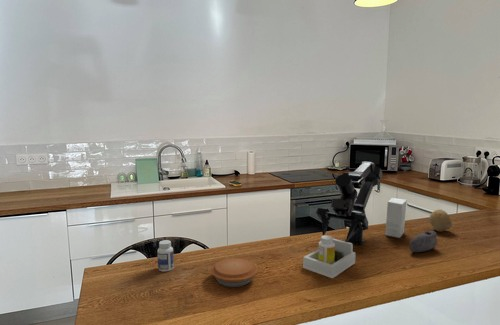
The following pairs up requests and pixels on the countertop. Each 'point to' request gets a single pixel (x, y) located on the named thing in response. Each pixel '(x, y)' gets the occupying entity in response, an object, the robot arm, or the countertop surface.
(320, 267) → the pusher lane
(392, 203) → the skincare box
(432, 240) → the perforated stone tool
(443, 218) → the natural sponge
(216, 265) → the pie
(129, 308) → the countertop surface
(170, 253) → the pill bottle
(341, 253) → the pusher plate
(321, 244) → the supplement bottle
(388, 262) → the countertop surface
